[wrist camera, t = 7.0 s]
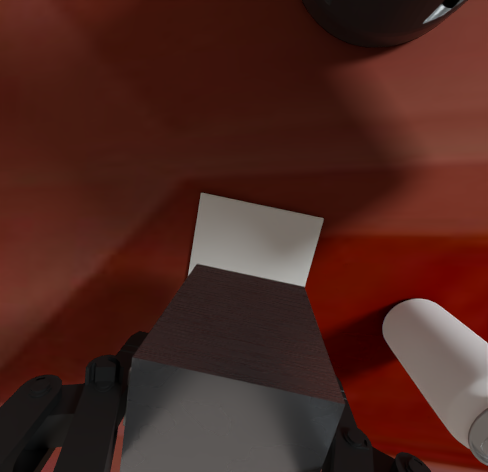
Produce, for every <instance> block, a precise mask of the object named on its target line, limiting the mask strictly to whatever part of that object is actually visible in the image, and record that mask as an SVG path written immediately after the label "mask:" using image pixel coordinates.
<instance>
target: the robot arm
mask: <svg viewBox="0 0 488 472" xmlns="http://www.w3.org/2000/svg"><path fill="white" fill-rule="evenodd" d="M466 1H468V0H302V2H303V4H304V5H305V7H306V9H307V10H308V12H309V13H310V14H311V16H312V17H313V18H314V19H315V20H316V22H317V23H318V24H319V25H320V26H321V27H323V28H324V29H325V30H326V31H327V32H329V33H330V34H332V35H333V36H335V37H337V38H339V39H340V40H343V41H345V42H348V43H350V44H354V45H358V46H363V47H389V46H394V45H398V44H402V43H405V42H408V41H411V40H413V39H415V38H418V37H419V36H421V35H423V34H425V33H427V32H428V31H430V30H432V29H433V28H435V27H436V26H437V25H439V24H440V23H441V22H443V21H444V20H445V19H446V18H447V17H449V16H450V15H451V14H452V13H454V12H455V11H456V10H457V9H458V8H460V7H461V6H462V5H463V4H464V3H465V2H466ZM148 334H149V333H146V332H141V331H139V332H137V333H136V334H134V335H132V336H131V337H130V338H129V339H128V341H127V342H126V343H125V345H124V346H123V347H122V348H121V350H120V351H119V352H118V353H117V355H116V356H115V355H104V356H100V357H97V358H95V359H94V360H92V361H91V362H89V364H88V365H87V367H86V374H85V383H83V384H74V385H62V380H61V379H60V378H59V377H57V376H54V375H42V376H38V377H35V378H33V379H31V380H29V381H27V382H26V383H25V384H23V385H22V386H21V387H20V388H19V389H18V390H17V391H16V392H15V393H14V394H13V395H12V396H11V397H10V398H9V399H8V400H7V401H6V402H5V403H4V404H3V405H2V406H1V407H0V472H41V470H42V468H43V467H44V465H45V464H46V462H47V461H48V459H49V458H50V456H51V454H52V453H53V451H54V450H55V448H56V447H62V449H61V452H60V455H59V457H58V460H57V463H56V466H55V468H54V471H53V472H110V470H111V465H112V460H113V454H114V449H115V444H116V438H117V432H118V426H119V424H120V422H121V420H122V419H123V417H124V421H123V425H124V426H125V421H126V411H127V402H128V393H129V384H130V374H131V365H132V357H133V356H134V354H135V353H136V351H137V350H138V348H139V347H140V345H141V344H142V343H143V341H144V340H145V338H146V337H147V335H148ZM335 376H336V375H335ZM336 379H337V382H338V384H339V387H340V390H341V393H342V396H343V399H344V401H345V407H344V409H343V412H342V415H341V418H340V420H339V423H338V426H337V428H336V431H335V434H334V436H333V439H332V442H331V444H330V447H329V450H328V452H327V455H326V458H325V461H324V463H323V466H322V471H321V472H431V470H430V469H429V468H428V467H427V466H426V465H425V464H424V463H423V462H422V461H421V460H419V459H418V458H417V457H415V456H413V455H411V454H409V453H404V452H401V453H399V454H397V455H396V458H395V459H394V458H392V457H390V456H388V455H386V454H384V453H382V452H380V451H379V450H377V449H375V448H374V447H372V446H371V442H370V441H369V439H368V437H367V436H366V435H365V434H364V433H363V432H362V431H361V430H360V429H358V428H357V425H356V423H355V420H354V417H353V414H352V412H351V409H350V406H349V404H348V401H347V400H346V399H347V398H346V395H345V393H344V390H343V387H342V384H341V382H340V380H339V379H338V378H337V377H336Z"/></svg>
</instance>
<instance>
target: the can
mask: <svg viewBox="0 0 488 472" xmlns="http://www.w3.org/2000/svg"><path fill="white" fill-rule="evenodd" d="M382 332H383V336H384V339H385V341H386V342H387V344H388V345H389V347H390V348H391V350H392V351H393V353H394V354H395V355H396V357H397V358H398V360H399V361H400V363H401V364H402V366H403V367H404V368H405V370H406V371H407V373H408V374H409V376H410V377H411V378H412V380H413V381H414V383H415V384H416V385H417V387H418V388H419V390H420V391H421V393H422V394H423V395H424V397H425V398H426V400H427V401H428V403H429V404H430V405H431V407H432V408H433V410H434V411H435V412H436V414H437V415H438V417H439V418H440V419H441V421H442V422H443V424H444V425H445V426H446V428H447V429H448V430H449V432H450V433H451V434H452V435H453V436H454V437H455V438H456V439H457V440H458V441H459V442H460V443H462V444H463V445H464V446H466V447H467V448H469V449H470V450H471V451H472V453H473V455H474V456H475V457H476V458H477V459H478V460H479V461H481V462H482V463H484V464H485V465H487V466H488V343H487V342H486V341H484V340H483V339H482V338H481V337H479V336H478V335H477V334H475V333H474V332H473V331H472V330H470V329H469V328H468V327H466V326H465V325H464V324H463V323H461V322H460V321H459V320H458V319H456V318H455V317H454V316H452V315H451V314H450V313H449V312H447V311H446V310H445V309H443V308H442V307H441V306H439V305H438V304H436V303H434V302H432V301H430V300H426V299H411V300H407V301H404V302H402V303H399V304H398V305H396V306H395V307H393V308H392V309H391V310H390V311H389V313H388V314H387V315H386V317H385V319H384V322H383V326H382Z"/></svg>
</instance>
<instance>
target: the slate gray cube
mask: <svg viewBox="0 0 488 472" xmlns="http://www.w3.org/2000/svg"><path fill="white" fill-rule="evenodd" d="M344 407H345V401H344V399H343V396H342V393H341V390H340V387H339V384H338V382H337V379H336V376H335V373H334V370H333V367H332V365H331V362H330V359H329V356H328V353H327V350H326V348H325V345H324V342H323V339H322V336H321V333H320V330H319V328H318V325H317V322H316V319H315V316H314V313H313V311H312V308H311V305H310V302H309V299H308V296H307V294H306V291H305V288H304V287H303V286H299V285H294V284H289V283H285V282H280V281H275V280H271V279H266V278H261V277H257V276H252V275H247V274H243V273H238V272H233V271H229V270H224V269H219V268H215V267H210V266H205V265H201V264H196V266H195V267H194V269H193V270H192V271H191V273H190V274H189V276H188V277H187V279H186V280H185V282H184V283H183V285H182V286H181V287H180V289H179V290H178V292H177V293H176V295H175V296H174V298H173V299H172V300H171V302H170V303H169V305H168V306H167V308H166V309H165V311H164V312H163V314H162V315H161V316H160V318H159V319H158V321H157V322H156V324H155V325H154V327H153V328H152V330H151V331H150V332H149V334H148V335H147V337H146V338H145V340H144V341H143V343H142V344H141V345H140V347H139V348H138V350H137V351H136V353H135V354H134V356H133V357H132V365H131V374H130V384H129V393H128V402H127V411H126V421H125V430H124V439H123V448H122V457H121V467H120V472H320V471H321V469H322V466H323V463H324V461H325V458H326V455H327V452H328V450H329V447H330V444H331V442H332V439H333V436H334V434H335V431H336V428H337V426H338V423H339V420H340V418H341V415H342V412H343V409H344Z"/></svg>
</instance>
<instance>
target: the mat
mask: <svg viewBox="0 0 488 472" xmlns="http://www.w3.org/2000/svg"><path fill="white" fill-rule="evenodd" d="M323 220H324V218H321V217H316V216H311V215H306V214H302V213H297V212H292V211H287V210H283V209H278V208H273V207H268V206H264V205H259V204H254V203H249V202H245V201H240V200H235V199H230V198H225V197H221V196H216V195H211V194H206V193H201V196H200V202H199V209H198V215H197V221H196V228H195V234H194V240H193V247H192V253H191V260H190V266H189V272H188V276H189V274H190V273H191V271H192V270H193V269H194V267H195V266H196V264H201V265H205V266H210V267H215V268H219V269H224V270H229V271H233V272H238V273H243V274H247V275H252V276H257V277H261V278H266V279H271V280H275V281H280V282H285V283H289V284H294V285H299V286H303V287H305V284H306V280H307V277H308V273H309V270H310V266H311V263H312V259H313V256H314V252H315V249H316V245H317V241H318V238H319V234H320V231H321V227H322V224H323Z"/></svg>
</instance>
